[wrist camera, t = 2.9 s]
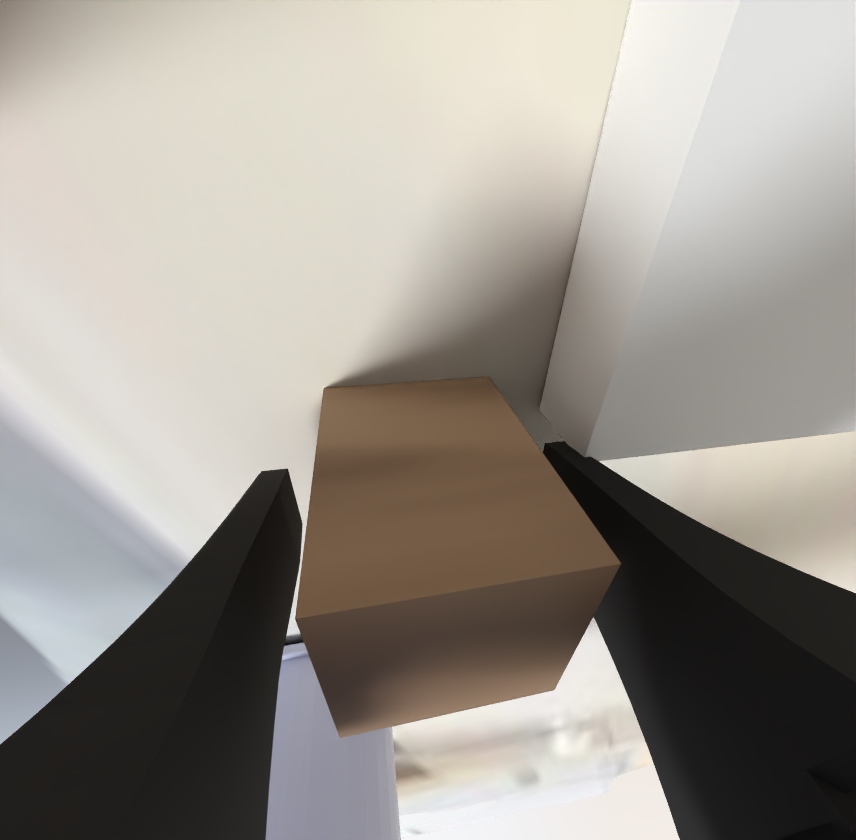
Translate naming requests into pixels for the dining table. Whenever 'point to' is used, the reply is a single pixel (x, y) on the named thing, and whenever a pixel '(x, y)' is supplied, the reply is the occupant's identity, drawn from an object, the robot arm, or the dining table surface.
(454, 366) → the dining table surface
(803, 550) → the dining table surface
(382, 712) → the walnut block
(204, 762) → the robot arm
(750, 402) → the grey plinth
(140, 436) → the dining table surface
